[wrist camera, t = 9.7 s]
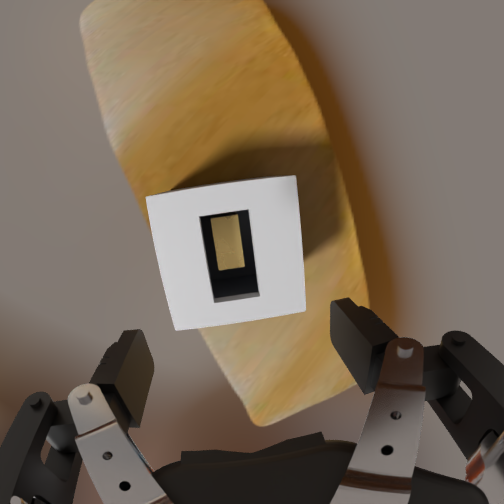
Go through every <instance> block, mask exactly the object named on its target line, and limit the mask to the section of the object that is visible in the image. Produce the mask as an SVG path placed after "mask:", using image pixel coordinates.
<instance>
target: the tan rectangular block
mask: <svg viewBox="0 0 504 504" xmlns="http://www.w3.org/2000/svg"><path fill="white" fill-rule="evenodd" d="M210 219H211V226H212V232H213V238H214V244H215V251H216V257H217V263H218V269H219V270H226V269H232V268H239V267H245V264H244V257H243V250H242V242H241V235H240V228H239V220H238V214H237V212H236V211H233V212H226V213H219V214H212V215H211V218H210Z"/></svg>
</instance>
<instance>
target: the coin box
mask: <svg viewBox="0 0 504 504" xmlns="http://www.w3.org/2000/svg"><path fill="white" fill-rule="evenodd" d="M146 202H147V208H148V214H149V219H150V225H151V230H152V235H153V240H154V245H155V250H156V255H157V260H158V264H159V268H160V273H161V277H162V281H163V286H164V289H165V293H166V297H167V302H168V305H169V309H170V312H171V316H172V320H173V324H174V327H175V331H177V330H186V329H195V328H203V327H211V326H218V325H226V324H233V323H239V322H246V321H252V320H259V319H265V318H270V317H276V316H282V315H287V314H293V313H298V312H303V311H306V300H305V280H304V264H303V250H302V236H301V224H300V213H299V202H298V192H297V182H296V175H291V176H267V177H258V178H250V179H242V180H234V181H227V182H220V183H213V184H207V185H200V186H194V187H188V188H182V189H176V190H171V191H166V192H162V193H159V194H155V195H151V196H148V197H146ZM233 211H236V212H237V214H238V220H239V228H240V235H241V242H242V250H243V257H244V264H245V267H239V268H232V269H226V270H219V269H218V263H217V257H216V251H215V244H214V238H213V232H212V226H211V219H210V218H211V215H212V214H219V213H226V212H233Z"/></svg>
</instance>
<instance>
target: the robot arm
mask: <svg viewBox="0 0 504 504" xmlns="http://www.w3.org/2000/svg"><path fill="white" fill-rule="evenodd" d="M330 337H331V341H332V344H333V346H334V348H335V349H336V351H337V352H338V354H339V355H340V357H341V359H342V360H343V362H344V363H345V365H346V366H347V368H348V370H349V371H350V373H351V374H352V376H353V377H354V379H355V381H356V382H357V384H358V385H359V387H360V389H361V390H362V392H363V393H364V395H365V394H368V393H371V392H374V396H373V399H372V402H371V406H370V409H369V412H368V415H367V418H366V421H365V424H364V427H363V430H362V433H361V436H360V438H359V441H358V444H357V443H353V442H349V441H342V440H324V437H323V435H322V432H318V433H314V434H310V435H306V436H302V437H297V438H293V439H288V440H285V441H283V442H280V443H278V444H276V445H273V446H271V447H268V448H265V449H262V450H260V451H257V452H254V453H242V452H231V451H221V450H203V451H182V452H181V461H177V462H174V463H170V464H168V465H166V466H163V467H161V468H160V469H158V470H156V471H154V470H153V469H152V468H151V466H150V465H149V464H148V462H147V461H146V460H145V458H144V457H143V455H142V454H141V452H140V451H139V450H138V448H137V446H136V445H135V443H134V442H133V440H132V439H131V437H130V436H129V434H128V429H129V427H135V428H139V427H140V423H141V419H142V416H143V412H144V408H145V404H146V400H147V396H148V392H149V388H150V384H151V381H152V377H153V374H154V362H153V358H152V356H151V353H150V350H149V347H148V345H147V342H146V339H145V336H144V334H143V332H142V330H140V329H137V330H126V331H123V333H122V335H121V337H120V338H119V340H118V342H115V343H114V344H112V345H111V346H110V347H109V348H108V349H107V351H106V352H105V354H104V356H103V358H102V359H101V361H100V365H98V367H97V369H96V371H95V373H94V374H93V377H92V378H91V380H90V382H89V384H83V385H81V386H78V387H76V388H75V389H74V390H72V392H71V393H70V394H69V396H68V400H62V401H56V402H53V401H52V399H51V397H50V396H49V395H48V394H47V393H46V392H36V393H34V394H32V395H30V396H29V397H28V398H27V399H26V400H25V402H24V403H23V405H22V407H21V409H20V411H19V412H18V414H17V416H16V417H15V419H14V421H13V423H12V425H11V427H10V429H9V431H8V433H7V435H6V437H5V439H4V441H3V443H2V445H1V447H0V504H72V503H73V498H74V493H75V489H76V484H77V480H78V476H79V472H80V468H81V464H82V460H83V461H84V463H85V466H86V468H87V471H88V473H89V474H90V477H91V479H92V481H93V483H94V485H95V487H96V490H97V491H98V493H99V495H100V497H101V499H102V501H103V503H104V504H499V503H501V502H502V501H503V500H504V365H503V364H502V363H501V362H500V361H499V360H497V359H496V358H495V357H494V356H493V355H492V354H491V353H489V351H487V350H486V349H485V348H484V347H483V346H482V345H480V343H478V342H477V341H476V340H475V339H474V338H473V337H471V336H470V335H469V334H467V333H465V332H461V331H450V332H447V333H446V334H444V335H443V337H442V341H441V344H440V345H435V346H428V347H423V345H422V344H421V343H420V342H419V341H417V340H415V339H413V338H408V337H401V338H399V337H398V336H397V335H396V334H395V333H394V332H393V331H392V330H391V329H390V328H389V327H388V326H387V325H386V324H385V323H383V321H382V320H381V319H380V318H378V316H377V315H376V314H375V313H374V312H373V311H372V310H370V309H368V308H365V307H363V306H359V307H358V306H357V305H356V304H355V303H354V302H353V301H352V300H351V299H350V298H344V299H339V300H334V301H332V302H331V305H330ZM461 380H462V381H463V382H464V383H465V384H466V385H467V387H468V388H469V389H470V390H471V392H472V399H471V398H470V397H469V396H468V395H467V394H466V392H465V391H464V390H463V389H462V388H461V387H460V382H461ZM425 401H427V402H428V403H429V404H430V406H431V407H432V409H433V410H434V411H435V413H436V414H437V416H438V417H439V419H440V420H441V421H442V423H443V424H444V426H445V427H446V429H447V430H448V432H449V433H450V435H451V436H452V438H453V439H454V440H455V442H456V443H457V445H458V447H459V448H460V449H461V451H462V453H463V454H464V456H465V457H466V459H467V463H466V467H465V470H466V477H465V481H463V480H459V479H455V478H451V477H448V476H444V475H441V474H437V473H434V472H431V471H428V470H425V469H422V468H419V467H416V466H415V461H416V456H417V451H418V446H419V441H420V435H421V428H422V420H423V412H424V403H425ZM45 440H47V441H48V442H49V443H50V444H51V445H52V446H51V448H50V451H49V454H48V457H47V460H46V463H45V465H44V464H43V462H42V460H41V457H40V454H41V450H42V447H43V445H44V442H45Z"/></svg>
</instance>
